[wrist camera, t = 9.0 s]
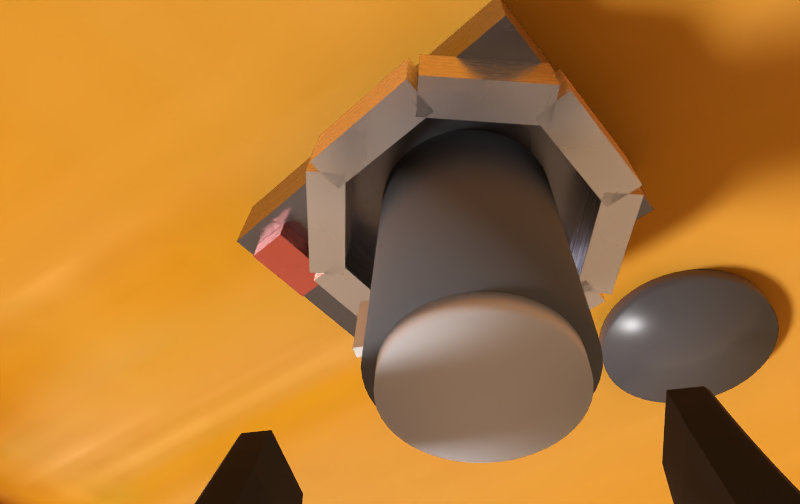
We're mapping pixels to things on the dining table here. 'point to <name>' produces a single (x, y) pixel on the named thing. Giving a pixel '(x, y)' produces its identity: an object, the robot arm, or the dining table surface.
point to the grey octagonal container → (427, 117)
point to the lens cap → (688, 334)
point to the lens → (475, 305)
